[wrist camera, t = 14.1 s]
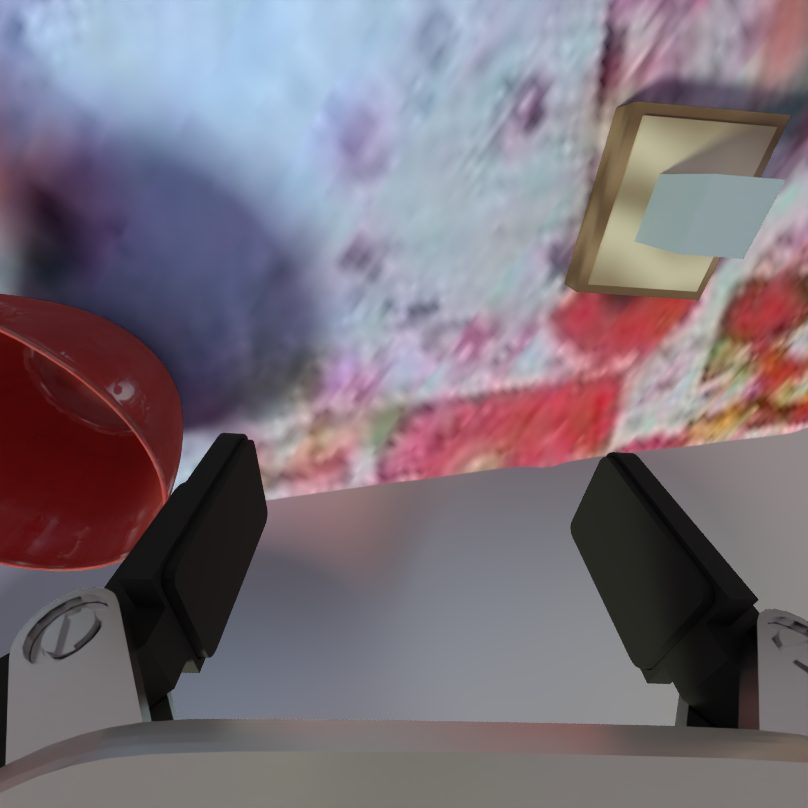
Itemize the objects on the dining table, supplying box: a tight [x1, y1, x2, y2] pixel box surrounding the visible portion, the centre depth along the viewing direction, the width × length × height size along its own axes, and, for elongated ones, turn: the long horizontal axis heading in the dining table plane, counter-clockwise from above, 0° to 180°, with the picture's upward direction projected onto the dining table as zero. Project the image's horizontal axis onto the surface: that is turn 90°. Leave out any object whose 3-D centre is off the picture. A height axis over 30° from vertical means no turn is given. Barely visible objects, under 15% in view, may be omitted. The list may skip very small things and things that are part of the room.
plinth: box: [565, 101, 791, 300], centre depth 32 cm, size 14×12×3 cm
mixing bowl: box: [0, 294, 183, 571], centre depth 36 cm, size 28×28×15 cm
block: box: [634, 174, 785, 259], centre depth 28 cm, size 5×5×6 cm
